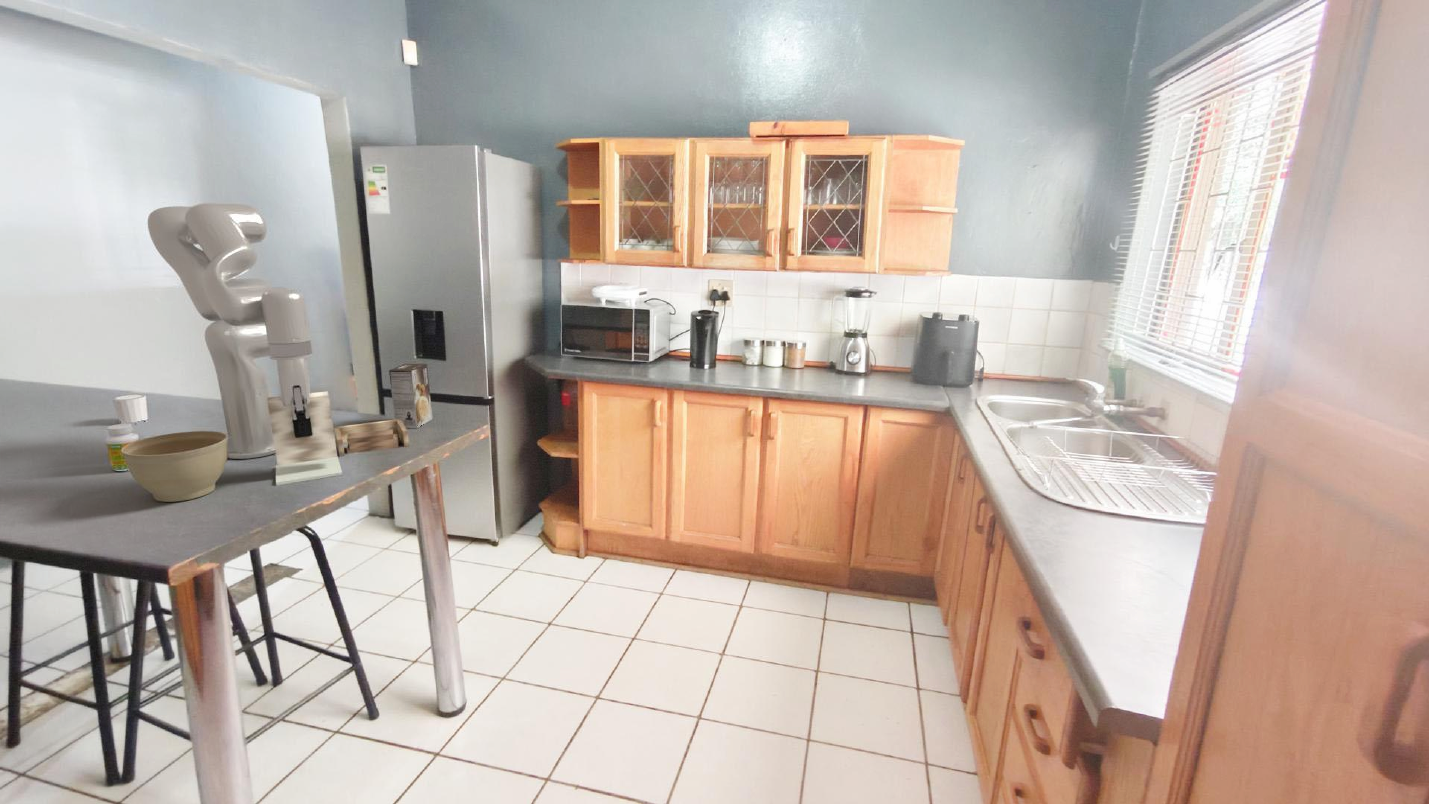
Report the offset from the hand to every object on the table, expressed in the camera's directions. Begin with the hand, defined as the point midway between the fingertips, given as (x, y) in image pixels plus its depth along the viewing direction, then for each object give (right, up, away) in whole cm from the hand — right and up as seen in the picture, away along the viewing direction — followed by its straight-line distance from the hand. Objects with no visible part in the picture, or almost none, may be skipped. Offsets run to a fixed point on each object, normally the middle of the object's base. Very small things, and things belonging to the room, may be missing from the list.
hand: (303, 432), depth 141 cm
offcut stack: (+5, -5, +19) cm, 20 cm away
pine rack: (+4, -4, +21) cm, 22 cm away
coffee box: (+6, +1, +39) cm, 39 cm away
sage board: (0, -9, +2) cm, 9 cm away
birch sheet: (0, -6, +2) cm, 6 cm away
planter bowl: (-17, -12, -10) cm, 23 cm away
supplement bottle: (-40, -8, +3) cm, 41 cm away
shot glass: (-69, +1, +36) cm, 78 cm away
